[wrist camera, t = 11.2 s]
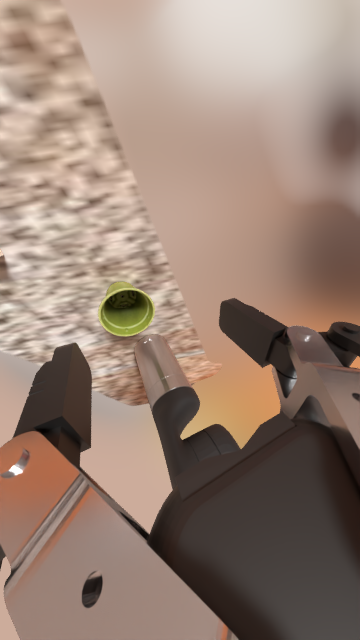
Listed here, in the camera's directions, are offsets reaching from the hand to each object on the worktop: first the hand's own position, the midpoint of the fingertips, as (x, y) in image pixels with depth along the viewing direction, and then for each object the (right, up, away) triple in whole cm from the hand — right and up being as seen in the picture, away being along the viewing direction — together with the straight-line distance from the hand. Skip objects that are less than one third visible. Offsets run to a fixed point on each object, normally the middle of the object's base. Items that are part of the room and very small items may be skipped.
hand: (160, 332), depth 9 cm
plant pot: (-11, +6, +26) cm, 29 cm away
